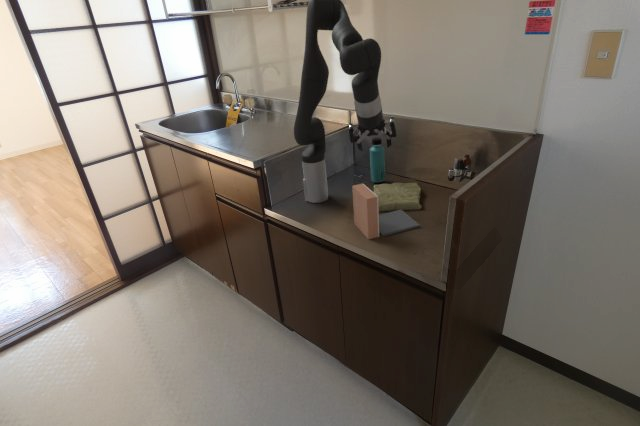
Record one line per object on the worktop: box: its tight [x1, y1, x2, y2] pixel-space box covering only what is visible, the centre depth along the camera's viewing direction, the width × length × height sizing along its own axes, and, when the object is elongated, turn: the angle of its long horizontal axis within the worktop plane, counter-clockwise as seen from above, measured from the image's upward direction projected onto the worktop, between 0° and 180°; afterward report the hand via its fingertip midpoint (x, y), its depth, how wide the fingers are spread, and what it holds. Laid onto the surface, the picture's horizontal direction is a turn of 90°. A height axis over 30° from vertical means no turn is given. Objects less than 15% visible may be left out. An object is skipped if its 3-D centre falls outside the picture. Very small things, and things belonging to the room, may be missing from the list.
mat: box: [379, 210, 420, 237], centre depth 136 cm, size 14×13×1 cm
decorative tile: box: [373, 182, 422, 212], centre depth 153 cm, size 19×20×4 cm
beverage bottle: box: [369, 137, 387, 183], centre depth 164 cm, size 6×7×20 cm
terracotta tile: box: [351, 183, 380, 240], centre depth 130 cm, size 4×12×15 cm, turn 18°
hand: (374, 147), depth 123 cm, fingers open, 8 cm apart
